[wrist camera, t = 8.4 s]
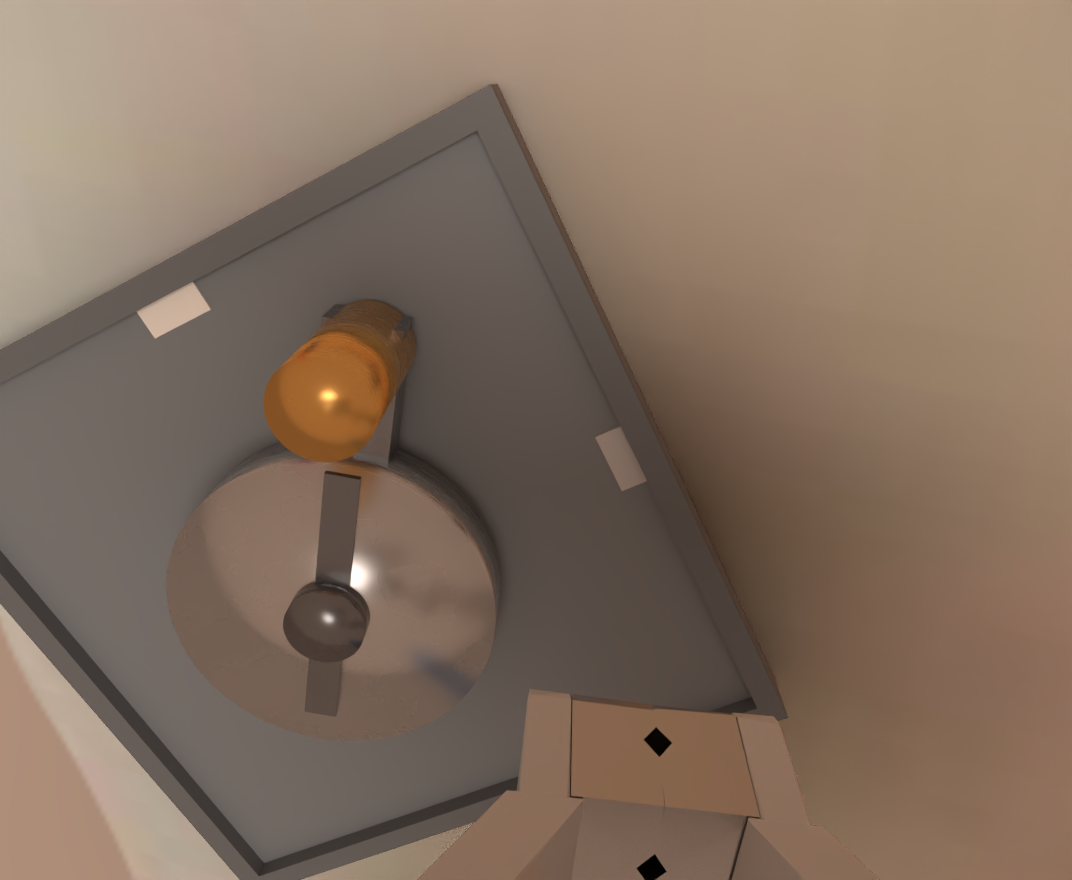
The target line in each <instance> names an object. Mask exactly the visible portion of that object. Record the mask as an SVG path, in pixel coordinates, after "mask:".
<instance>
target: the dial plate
mask: <svg viewBox="0 0 1072 880" xmlns="http://www.w3.org/2000/svg"><path fill="white" fill-rule="evenodd" d="M359 300H374V301H379V302H382V303H385V304H387V305H389V306H391V307H393V308H394V309H396V310H397V311H398V312H399V313H400V314H402V315H403V316H405V317H410V318H413V320H412V328H411V329H412V331H413V334H414V337H415V342H416V353H415V358H414V361H413V364H412V366H411V368H410V369H409V371H408V373H407V375H406V378H405V386H404V395H403V403H402V411H401V419H400V428H399V436H398V444H397V449H398V450H401V451H403V452H405V453H407V454H409V455H411V456H413V457H415V458H417V459H419V460H421V461H423V462H425V463H426V464H428V465H429V466H431V467H432V468H434V469H435V470H437V471H438V472H440V473H441V474H442V475H443V476H445V477H446V478H447V479H448V480H449V481H450V482H452V483H453V484H454V485H455V486H456V487H457V488H458V489H459V490H460V491H461V492H462V493H463V494H464V495H465V497H466V498H467V499H468V500H469V501H470V502H471V504H472V505H473V506H474V508H475V509H476V511H477V512H478V513H479V515H480V516H481V518H482V520H483V522H484V524H485V525H486V527H487V529H488V531H489V533H490V535H491V538H492V541H493V544H494V547H495V549H496V553H497V558H498V563H499V568H500V585H501V587H500V596H499V605H498V612H497V619H496V626H495V633H494V640H493V644H492V648H491V651H490V655H489V658H488V661H487V663H486V665H485V667H484V669H483V672H482V674H481V675H480V677H479V678H478V680H477V681H476V683H475V684H474V686H473V687H472V689H471V690H470V691H469V692H468V693H467V694H466V695H465V696H464V697H463V699H462V700H461V701H460V702H459V703H457V704H456V705H455V706H454V707H453V708H451V709H450V710H449V711H448V712H446V713H445V714H443V715H442V716H440V717H438V718H437V719H435V720H434V721H432V722H430V723H428V724H426V725H423V726H421V727H419V728H417V729H415V730H412V731H409V732H405V733H402V734H399V735H396V736H391V737H386V738H381V739H373V740H361V741H343V740H331V739H322V738H316V737H312V736H307V735H302V734H298V733H295V732H292V731H289V730H286V729H283V728H280V727H277V726H275V725H273V724H271V723H268V722H266V721H264V720H261V719H260V718H258V717H256V716H254V715H252V714H251V713H249V712H247V711H245V710H244V709H242V708H241V707H239V706H238V705H236V704H235V703H234V702H232V701H231V700H229V699H228V698H227V697H225V696H224V695H223V694H222V693H221V692H220V691H219V690H217V689H216V688H215V687H214V686H213V685H212V684H211V683H210V682H209V681H208V680H207V679H206V678H205V677H204V676H203V674H202V673H201V672H200V671H199V670H198V669H197V667H196V666H195V664H194V663H193V662H192V660H191V659H190V658H189V656H188V655H187V653H186V651H185V649H184V647H183V646H182V644H181V642H180V640H179V638H178V636H177V633H176V631H175V628H174V626H173V623H172V620H171V616H170V611H169V607H168V602H167V590H166V580H167V567H168V563H169V559H170V555H171V551H172V548H173V546H174V543H175V541H176V539H177V536H178V534H179V532H180V531H181V529H182V527H183V526H184V524H185V523H186V521H187V520H188V518H189V517H190V516H191V515H192V513H193V512H194V511H195V510H196V509H197V508H198V507H199V505H200V504H201V503H202V502H203V501H204V500H205V499H206V498H207V496H208V495H209V494H210V493H211V492H212V491H213V490H214V488H215V487H216V486H217V485H218V484H219V483H220V482H221V481H222V480H223V478H224V477H225V476H226V475H227V474H228V473H229V472H230V471H231V470H233V469H234V468H235V467H236V466H238V465H239V464H240V463H241V462H243V461H244V460H246V459H248V458H249V457H251V456H253V455H254V454H256V453H258V452H260V451H262V450H264V449H267V448H269V447H272V446H274V445H276V444H280V443H281V442H280V441H279V440H278V439H277V438H276V437H275V435H274V434H273V433H272V431H271V429H270V428H269V425H268V423H267V421H266V417H265V414H264V407H263V399H264V393H265V389H266V386H267V384H268V382H269V380H270V378H271V377H272V375H273V374H274V373H275V372H276V371H277V370H278V369H279V368H280V367H281V366H282V365H283V364H284V363H285V362H286V361H287V360H288V359H289V358H290V357H291V356H292V355H293V354H294V353H295V352H296V351H297V350H298V349H299V348H300V347H301V346H302V345H303V344H304V343H305V342H306V341H307V340H308V339H309V338H310V337H312V336H313V335H314V334H315V333H316V332H317V331H318V330H319V329H320V328H321V318H322V316H323V315H324V314H325V313H326V312H327V311H328V310H329V309H330V308H331V307H333V306H334V305H335V304H339V305H347V304H349V303H351V302H355V301H359ZM0 604H1V605H2V606H3V607H4V608H5V610H6V611H7V612H8V613H9V614H10V615H11V616H12V618H13V619H14V620H15V621H16V622H17V623H18V625H19V626H20V627H21V628H22V629H23V630H24V631H25V633H26V634H27V635H28V636H29V637H30V638H31V640H32V641H33V642H34V643H35V644H36V645H37V646H38V648H39V649H40V650H41V651H42V652H43V653H44V655H45V656H46V657H47V658H48V659H49V660H50V661H51V663H52V664H53V665H54V666H55V667H56V668H57V670H58V671H59V672H60V673H61V674H62V675H63V676H64V678H65V679H66V680H67V681H68V682H69V683H70V684H71V686H72V687H73V688H74V689H75V690H76V691H77V693H78V694H79V695H80V696H81V697H82V698H83V699H84V701H85V702H86V703H87V704H88V705H89V706H90V708H91V709H92V710H93V711H94V712H95V713H96V714H97V716H98V717H99V718H100V719H101V720H102V721H103V723H104V724H105V725H106V726H107V727H108V728H109V729H110V731H111V732H112V733H113V734H114V735H115V736H116V738H117V739H118V740H119V741H120V742H121V743H122V744H123V746H124V747H125V748H126V749H127V750H128V751H129V752H130V754H131V755H132V756H133V757H134V758H135V759H136V761H137V762H138V763H139V764H140V765H141V766H142V767H143V769H144V770H145V771H146V772H147V773H148V774H149V776H150V777H151V778H152V779H153V780H154V781H155V782H156V784H157V785H158V786H159V787H160V788H161V789H162V791H163V792H164V793H165V794H166V795H167V796H168V797H169V799H170V800H171V801H172V802H173V803H174V804H175V806H176V807H177V808H178V809H179V810H180V811H181V812H182V814H183V815H184V816H185V817H186V818H187V819H188V820H189V822H190V823H191V824H192V825H193V826H194V827H195V829H196V830H197V831H198V832H199V833H200V834H201V835H202V837H203V838H204V839H205V840H206V841H207V842H208V844H209V845H210V846H211V847H212V848H213V849H214V850H215V852H216V853H217V854H218V855H219V856H220V857H221V859H222V860H223V861H224V862H225V863H226V864H227V865H228V867H229V868H230V869H231V870H232V871H233V872H234V874H235V875H236V876H237V877H238V878H239V879H240V880H301V879H304V878H307V877H310V876H313V875H316V874H319V873H322V872H325V871H328V870H331V869H334V868H337V867H340V866H343V865H346V864H349V863H352V862H355V861H358V860H361V859H364V858H367V857H370V856H373V855H376V854H379V853H382V852H385V851H388V850H391V849H394V848H397V847H400V846H403V845H406V844H409V843H412V842H415V841H418V840H421V839H424V838H427V837H430V836H433V835H436V834H439V833H442V832H445V831H448V830H451V829H454V828H457V827H460V826H463V825H466V824H469V823H472V822H475V821H477V820H478V819H479V818H480V817H481V816H482V815H483V814H484V813H485V812H486V811H487V810H488V809H489V808H490V807H491V806H492V805H493V804H494V803H495V802H496V801H497V800H498V799H499V798H500V797H501V796H502V795H503V794H504V793H505V792H506V791H507V790H509V791H517V785H518V776H519V768H520V759H521V751H522V742H523V734H524V726H525V717H526V709H527V700H528V695H529V691H530V689H536V690H544V691H551V692H559V693H566V694H569V695H570V697H571V694H578V695H585V696H593V697H600V698H607V699H614V700H622V701H629V702H636V703H644V704H651V705H658V706H668V707H677V708H686V709H695V710H705V711H714V712H723V713H730V714H732V713H743V714H754V715H765V716H774V717H775V718H776V719H777V721H779V720H782V719H785V718H788V716H787V713H786V711H785V708H784V705H783V702H782V699H781V696H780V693H779V690H778V687H777V684H776V681H775V678H774V676H773V673H772V671H771V669H770V667H769V665H768V663H767V661H766V658H765V656H764V654H763V652H762V650H761V648H760V646H759V643H758V641H757V639H756V637H755V635H754V633H753V631H752V628H751V626H750V624H749V622H748V620H747V618H746V616H745V613H744V611H743V609H742V607H741V605H740V603H739V601H738V598H737V596H736V594H735V592H734V590H733V588H732V586H731V583H730V581H729V579H728V577H727V575H726V573H725V571H724V568H723V566H722V564H721V562H720V560H719V558H718V556H717V553H716V551H715V549H714V547H713V545H712V543H711V541H710V538H709V536H708V534H707V532H706V530H705V528H704V526H703V523H702V521H701V519H700V517H699V515H698V513H697V511H696V508H695V506H694V504H693V502H692V500H691V498H690V496H689V493H688V491H687V489H686V487H685V485H684V483H683V481H682V478H681V476H680V474H679V472H678V470H677V468H676V466H675V463H674V461H673V459H672V457H671V455H670V453H669V451H668V448H667V446H666V444H665V442H664V440H663V438H662V436H661V433H660V431H659V429H658V427H657V425H656V423H655V421H654V418H653V416H652V414H651V412H650V410H649V408H648V406H647V403H646V401H645V399H644V397H643V395H642V393H641V390H640V388H639V386H638V384H637V382H636V380H635V378H634V375H633V373H632V371H631V369H630V367H629V365H628V363H627V360H626V358H625V356H624V354H623V352H622V350H621V348H620V345H619V343H618V341H617V339H616V337H615V335H614V333H613V330H612V328H611V326H610V324H609V322H608V320H607V318H606V315H605V313H604V311H603V309H602V307H601V305H600V303H599V300H598V298H597V296H596V294H595V292H594V290H593V288H592V285H591V283H590V281H589V279H588V277H587V275H586V273H585V270H584V268H583V266H582V264H581V262H580V260H579V258H578V255H577V253H576V251H575V249H574V247H573V245H572V243H571V240H570V238H569V236H568V234H567V232H566V230H565V228H564V225H563V223H562V221H561V219H560V217H559V215H558V213H557V210H556V208H555V206H554V204H553V202H552V200H551V198H550V195H549V193H548V191H547V189H546V187H545V185H544V183H543V180H542V178H541V176H540V174H539V172H538V170H537V168H536V165H535V163H534V161H533V159H532V157H531V155H530V153H529V150H528V148H527V146H526V144H525V142H524V140H523V138H522V135H521V133H520V131H519V129H518V127H517V125H516V123H515V120H514V118H513V116H512V114H511V112H510V110H509V108H508V105H507V103H506V101H505V99H504V97H503V95H502V93H501V90H500V88H499V86H498V84H491V85H489V86H487V87H485V88H483V89H481V90H480V91H478V92H476V93H474V94H472V95H470V96H468V97H467V98H465V99H463V100H461V101H459V102H457V103H456V104H454V105H452V106H450V107H448V108H446V109H444V110H443V111H441V112H439V113H437V114H435V115H433V116H432V117H430V118H428V119H426V120H424V121H422V122H420V123H419V124H417V125H415V126H413V127H411V128H409V129H408V130H406V131H404V132H402V133H400V134H398V135H396V136H395V137H393V138H391V139H389V140H387V141H385V142H384V143H382V144H380V145H378V146H376V147H374V148H372V149H371V150H369V151H367V152H365V153H363V154H361V155H360V156H358V157H356V158H354V159H352V160H350V161H348V162H347V163H345V164H343V165H341V166H339V167H337V168H336V169H334V170H332V171H330V172H328V173H326V174H325V175H323V176H321V177H319V178H317V179H315V180H313V181H312V182H310V183H308V184H306V185H304V186H302V187H301V188H299V189H297V190H295V191H293V192H291V193H289V194H288V195H286V196H284V197H282V198H280V199H278V200H277V201H275V202H273V203H271V204H269V205H267V206H265V207H264V208H262V209H260V210H258V211H256V212H254V213H253V214H251V215H249V216H247V217H245V218H243V219H241V220H240V221H238V222H236V223H234V224H232V225H230V226H229V227H227V228H225V229H223V230H221V231H219V232H217V233H216V234H214V235H212V236H210V237H208V238H206V239H205V240H203V241H201V242H199V243H197V244H195V245H193V246H192V247H190V248H188V249H186V250H184V251H182V252H181V253H179V254H177V255H175V256H173V257H171V258H169V259H168V260H166V261H164V262H162V263H160V264H158V265H157V266H155V267H153V268H151V269H149V270H147V271H145V272H144V273H142V274H140V275H138V276H136V277H134V278H133V279H131V280H129V281H127V282H125V283H123V284H121V285H120V286H118V287H116V288H114V289H112V290H110V291H109V292H107V293H105V294H103V295H101V296H99V297H97V298H96V299H94V300H92V301H90V302H88V303H86V304H85V305H83V306H81V307H79V308H77V309H75V310H74V311H72V312H70V313H68V314H66V315H64V316H62V317H61V318H59V319H57V320H55V321H53V322H51V323H50V324H48V325H46V326H44V327H42V328H40V329H38V330H37V331H35V332H33V333H31V334H29V335H27V336H26V337H24V338H22V339H20V340H18V341H16V342H14V343H13V344H11V345H9V346H7V347H5V348H3V349H2V350H0Z"/></svg>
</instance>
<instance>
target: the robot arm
mask: <svg viewBox="0 0 1072 880" xmlns="http://www.w3.org/2000/svg"><path fill="white" fill-rule="evenodd" d="M417 880H880V879H879V878H878V877H876V876H875V875H874V874H873V873H872V872H871V871H870V870H869V869H868V868H867V867H866V866H865V865H864V864H863V863H862V862H861V861H860V860H859V859H858V858H857V857H856V856H855V855H853V854H852V853H851V852H850V851H849V850H848V849H847V848H846V847H845V846H844V845H843V844H842V843H841V842H840V841H839V840H838V839H837V838H836V837H835V836H834V835H833V834H831V833H830V832H829V831H828V830H827V829H826V828H825V827H821V826H813V825H812V824H811V821H810V818H809V815H808V812H807V809H806V805H805V802H804V799H803V796H802V793H801V790H800V786H799V783H798V780H797V777H796V774H795V771H794V768H793V764H792V761H791V758H790V755H789V752H788V749H787V745H786V742H785V739H784V736H783V733H782V730H781V727H780V723H779V722H778V721H777V719H776V718H775V717H774V716H765V715H754V714H743V713H732V714H730V713H723V712H714V711H705V710H695V709H686V708H677V707H668V706H658V705H651V704H644V703H636V702H629V701H622V700H614V699H607V698H600V697H593V696H585V695H578V694H571V697H570V695H569V694H566V693H559V692H551V691H544V690H536V689H530V691H529V695H528V700H527V709H526V717H525V726H524V734H523V742H522V751H521V759H520V768H519V776H518V785H517V791H509V790H507V791H506V792H505V793H504V794H503V795H502V796H501V797H500V798H499V799H498V800H497V801H496V802H495V803H494V804H493V805H492V806H491V807H490V808H489V809H488V810H487V811H486V812H485V813H484V814H483V815H482V816H481V817H480V818H479V819H478V820H477V821H476V822H475V823H474V824H473V825H472V826H471V827H470V828H469V829H468V830H467V831H466V832H465V833H464V834H463V835H462V836H461V837H460V838H459V839H458V840H457V841H456V842H455V843H454V844H453V845H452V846H451V847H450V848H449V849H448V850H447V851H446V852H445V853H444V854H443V855H442V856H441V857H440V858H439V859H438V860H437V861H436V862H435V863H434V864H433V865H432V866H431V867H430V868H429V869H428V870H426V871H425V872H424V873H423V874H422V875H421V876H420V877H419V878H418V879H417Z"/></svg>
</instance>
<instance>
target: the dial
mask: <svg viewBox="0 0 1072 880" xmlns="http://www.w3.org/2000/svg"><path fill="white" fill-rule="evenodd" d="M412 320H413V318H410V317H405V316H403V315H402V314H400V313H399V312H398V311H397V310H396V309H394V308H393V307H391V306H389V305H387V304H385V303H382V302H379V301H374V300H359V301H355V302H351V303H349V304H347V305H339V304H335V305H334V306H333V307H331V308H330V309H329V310H328V311H327V312H326V313H325V314H324V315H323V316H322V318H321V328H320V329H319V330H318V331H317V332H316V333H315V334H314V335H313V336H312V337H310V338H309V339H308V340H307V341H306V342H305V343H304V344H303V345H302V346H301V347H300V348H299V349H298V350H297V351H296V352H295V353H294V354H293V355H292V356H291V357H290V358H289V359H288V360H287V361H286V362H285V363H284V364H283V365H282V366H281V367H280V368H279V369H278V370H277V371H276V372H275V373H274V374H273V375H272V377H271V378H270V380H269V382H268V384H267V386H266V389H265V393H264V399H263V407H264V414H265V417H266V421H267V423H268V425H269V428H270V429H271V431H272V433H273V434H274V435H275V437H276V438H277V439H278V440H279V441H280V442H281V443H280V444H276V445H274V446H272V447H269V448H267V449H264V450H262V451H260V452H258V453H256V454H254V455H253V456H251V457H249V458H248V459H246V460H244V461H243V462H241V463H240V464H239V465H238V466H236V467H235V468H234V469H233V470H231V471H230V472H229V473H228V474H227V475H226V476H225V477H224V478H223V480H222V481H221V482H220V483H219V484H218V485H217V486H216V487H215V488H214V490H213V491H212V492H211V493H210V494H209V495H208V496H207V498H206V499H205V500H204V501H203V502H202V503H201V504H200V505H199V507H198V508H197V509H196V510H195V511H194V512H193V513H192V515H191V516H190V517H189V518H188V520H187V521H186V523H185V524H184V526H183V527H182V529H181V531H180V532H179V534H178V536H177V539H176V541H175V543H174V546H173V548H172V551H171V555H170V559H169V563H168V567H167V580H166V590H167V602H168V607H169V611H170V616H171V620H172V623H173V626H174V628H175V631H176V633H177V636H178V638H179V640H180V642H181V644H182V646H183V647H184V649H185V651H186V653H187V655H188V656H189V658H190V659H191V660H192V662H193V663H194V664H195V666H196V667H197V669H198V670H199V671H200V672H201V673H202V674H203V676H204V677H205V678H206V679H207V680H208V681H209V682H210V683H211V684H212V685H213V686H214V687H215V688H216V689H217V690H219V691H220V692H221V693H222V694H223V695H224V696H225V697H227V698H228V699H229V700H231V701H232V702H234V703H235V704H236V705H238V706H239V707H241V708H242V709H244V710H245V711H247V712H249V713H251V714H252V715H254V716H256V717H258V718H260V719H261V720H264V721H266V722H268V723H271V724H273V725H275V726H277V727H280V728H283V729H286V730H289V731H292V732H295V733H298V734H302V735H307V736H312V737H316V738H322V739H331V740H343V741H361V740H373V739H381V738H386V737H391V736H396V735H399V734H402V733H405V732H409V731H412V730H415V729H417V728H419V727H421V726H423V725H426V724H428V723H430V722H432V721H434V720H435V719H437V718H438V717H440V716H442V715H443V714H445V713H446V712H448V711H449V710H450V709H451V708H453V707H454V706H455V705H456V704H457V703H459V702H460V701H461V700H462V699H463V697H464V696H465V695H466V694H467V693H468V692H469V691H470V690H471V689H472V687H473V686H474V684H475V683H476V681H477V680H478V678H479V677H480V675H481V674H482V672H483V669H484V667H485V665H486V663H487V661H488V658H489V655H490V651H491V648H492V644H493V640H494V633H495V626H496V619H497V612H498V605H499V596H500V587H501V585H500V568H499V563H498V558H497V553H496V549H495V547H494V544H493V541H492V538H491V535H490V533H489V531H488V529H487V527H486V525H485V524H484V522H483V520H482V518H481V516H480V515H479V513H478V512H477V511H476V509H475V508H474V506H473V505H472V504H471V502H470V501H469V500H468V499H467V498H466V497H465V495H464V494H463V493H462V492H461V491H460V490H459V489H458V488H457V487H456V486H455V485H454V484H453V483H452V482H450V481H449V480H448V479H447V478H446V477H445V476H443V475H442V474H441V473H440V472H438V471H437V470H435V469H434V468H432V467H431V466H429V465H428V464H426V463H425V462H423V461H421V460H419V459H417V458H415V457H413V456H411V455H409V454H407V453H405V452H403V451H401V450H398V449H397V444H398V436H399V428H400V419H401V411H402V403H403V395H404V386H405V378H406V375H407V373H408V371H409V369H410V368H411V366H412V364H413V361H414V358H415V353H416V342H415V337H414V334H413V331H412V329H411V328H412Z"/></svg>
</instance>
